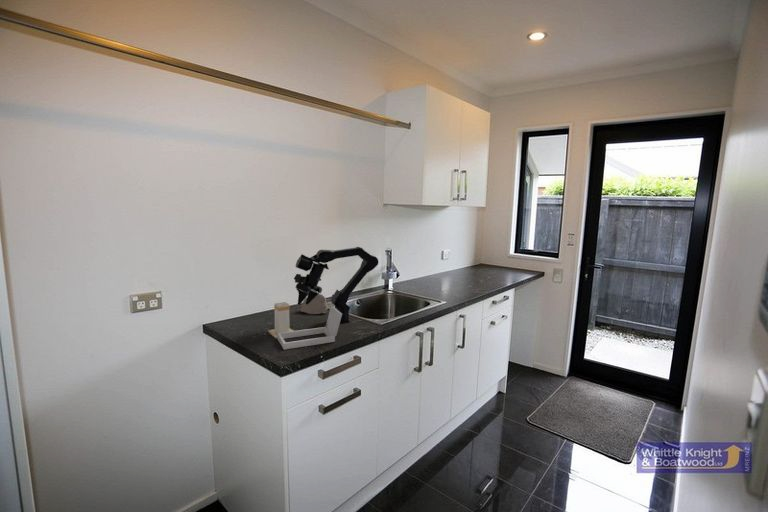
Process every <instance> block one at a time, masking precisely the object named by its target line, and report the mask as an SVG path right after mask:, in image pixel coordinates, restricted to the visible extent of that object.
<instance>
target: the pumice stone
mask: <svg viewBox="0 0 768 512" xmlns="http://www.w3.org/2000/svg"><path fill="white" fill-rule="evenodd" d="M306 300H307V297H306V298H305V299H304V301H303V302H302V303H301V308H300V309H299V310H300V312H301V313H306V314H308V315H321V314H326V313H327V310H328V309H329V306H328V302H327V299H326V296H324V295H323V294H321V293H319V295H317V296H316V297H315V298H314V299H313V300H312V301H311V302H310V303H309V304H308V305H307V304H306Z"/></svg>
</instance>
